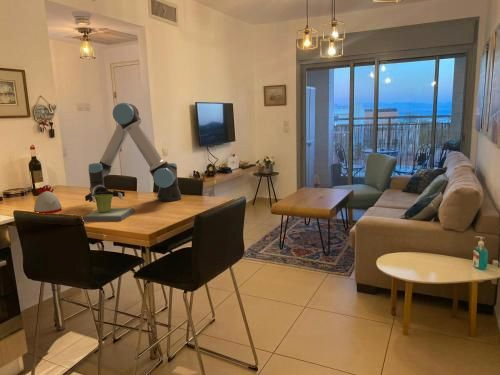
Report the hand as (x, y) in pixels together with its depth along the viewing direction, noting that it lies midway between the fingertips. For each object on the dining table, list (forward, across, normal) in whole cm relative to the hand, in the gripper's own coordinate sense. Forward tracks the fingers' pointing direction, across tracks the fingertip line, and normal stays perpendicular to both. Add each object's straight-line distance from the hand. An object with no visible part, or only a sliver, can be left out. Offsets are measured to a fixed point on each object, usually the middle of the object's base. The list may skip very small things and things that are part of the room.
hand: (108, 198), depth 193 cm
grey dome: (-36, +27, -10) cm, 46 cm away
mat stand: (-1, 0, -10) cm, 10 cm away
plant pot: (-2, +2, -7) cm, 8 cm away
